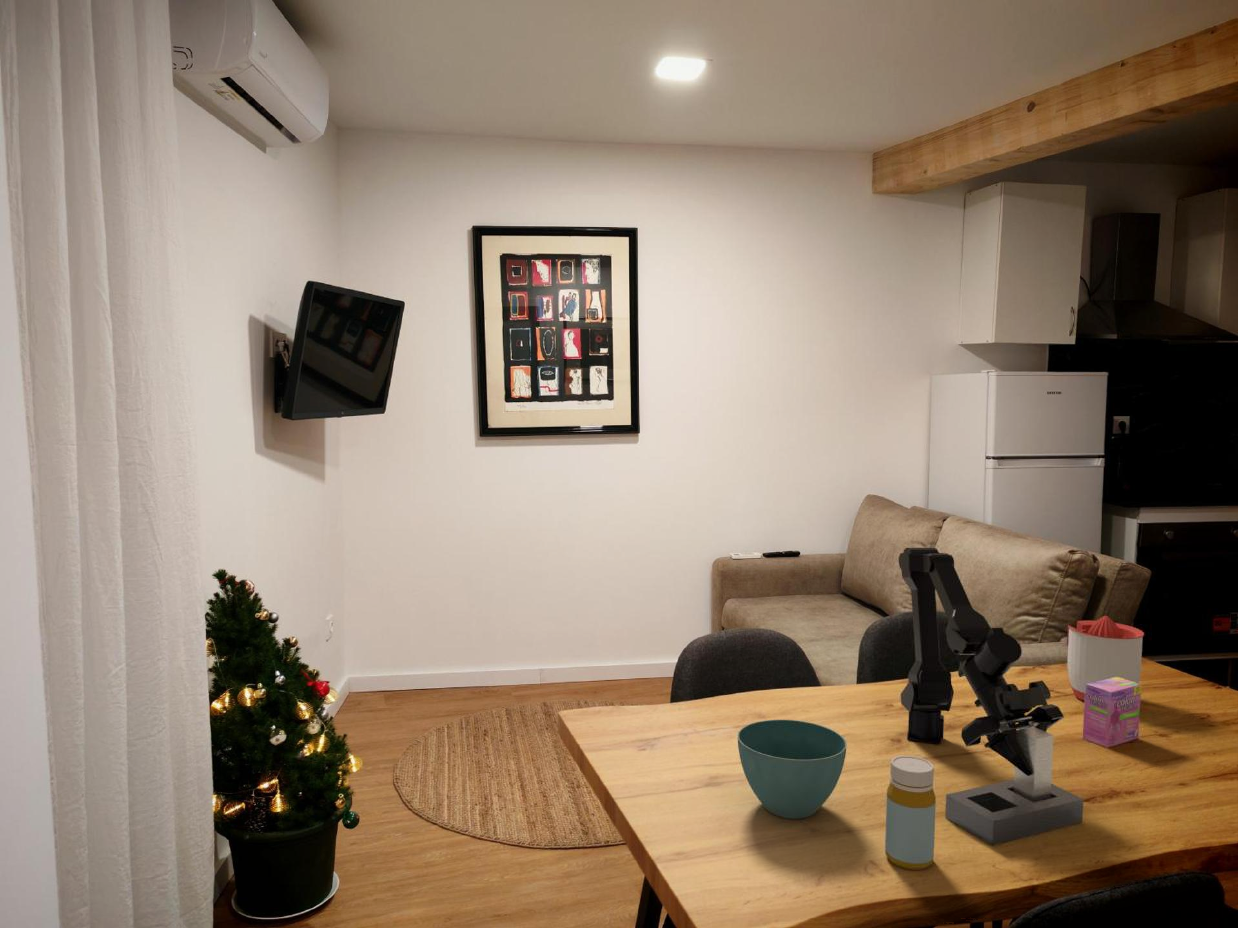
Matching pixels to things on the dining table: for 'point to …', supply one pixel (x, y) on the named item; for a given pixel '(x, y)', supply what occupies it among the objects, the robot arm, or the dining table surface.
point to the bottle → (910, 813)
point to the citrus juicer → (1102, 653)
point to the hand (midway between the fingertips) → (1039, 772)
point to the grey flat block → (1011, 812)
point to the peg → (1035, 764)
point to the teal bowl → (791, 764)
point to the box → (1111, 711)
